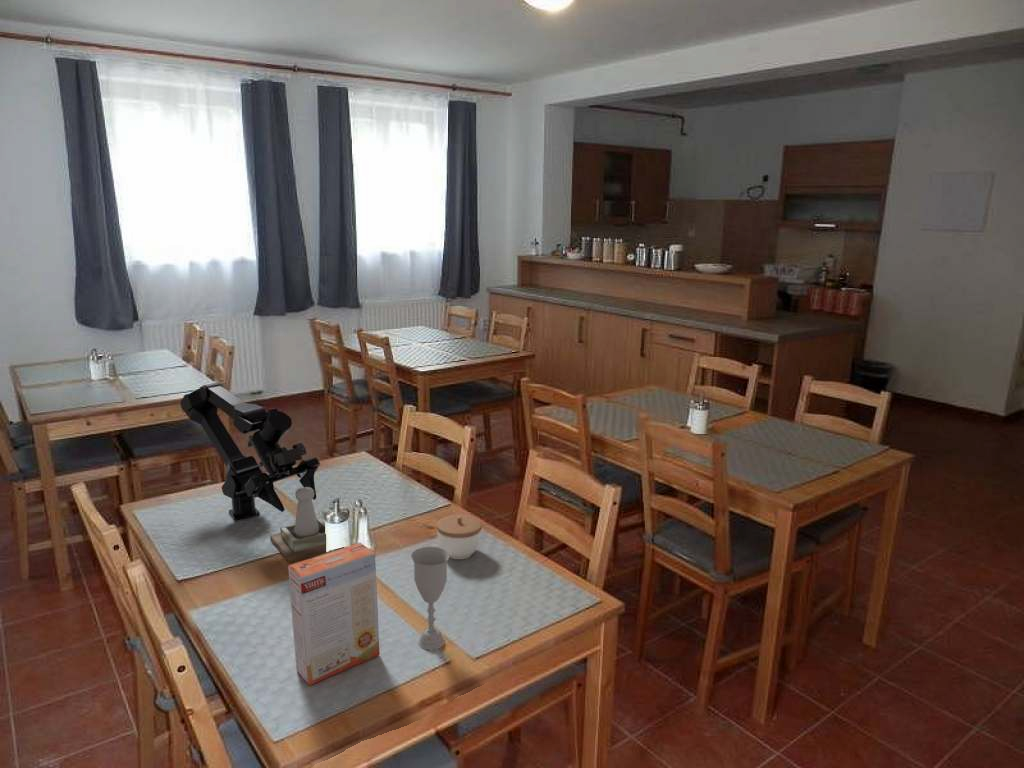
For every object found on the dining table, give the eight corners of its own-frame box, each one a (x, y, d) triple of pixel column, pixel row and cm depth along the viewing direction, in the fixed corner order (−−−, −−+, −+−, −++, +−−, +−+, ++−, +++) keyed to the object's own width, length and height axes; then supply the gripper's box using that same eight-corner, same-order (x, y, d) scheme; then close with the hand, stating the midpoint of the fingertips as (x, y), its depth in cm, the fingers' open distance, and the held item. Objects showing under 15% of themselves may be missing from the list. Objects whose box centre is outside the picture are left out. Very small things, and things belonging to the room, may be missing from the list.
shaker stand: (270, 539, 171) (269, 526, 171) (325, 525, 179) (324, 512, 179) (289, 562, 160) (288, 548, 160) (346, 546, 169) (346, 532, 168)
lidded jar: (453, 569, 159) (453, 531, 157) (428, 551, 167) (427, 515, 165) (490, 555, 166) (491, 519, 164) (464, 539, 174) (464, 504, 172)
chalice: (405, 640, 132) (403, 554, 128) (433, 626, 137) (432, 543, 133) (429, 658, 127) (427, 569, 123) (457, 642, 132) (457, 556, 128)
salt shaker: (301, 546, 166) (298, 495, 163) (290, 538, 170) (287, 488, 167) (323, 539, 170) (321, 489, 167) (312, 531, 174) (310, 482, 171)
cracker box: (365, 640, 132) (361, 540, 127) (380, 656, 128) (377, 552, 123) (294, 669, 123) (286, 563, 118) (308, 687, 119) (301, 577, 114)
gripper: (248, 444, 161) (279, 501, 157) (314, 426, 175) (344, 477, 172) (231, 468, 167) (261, 523, 164) (296, 448, 182) (325, 498, 178)
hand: (299, 504), depth 169 cm, fingers open, 9 cm apart
